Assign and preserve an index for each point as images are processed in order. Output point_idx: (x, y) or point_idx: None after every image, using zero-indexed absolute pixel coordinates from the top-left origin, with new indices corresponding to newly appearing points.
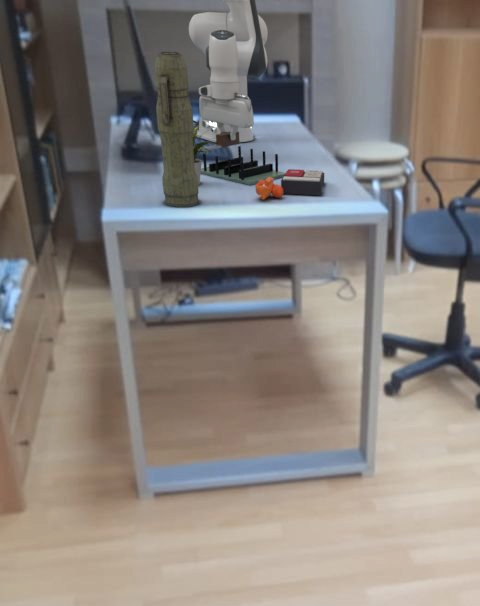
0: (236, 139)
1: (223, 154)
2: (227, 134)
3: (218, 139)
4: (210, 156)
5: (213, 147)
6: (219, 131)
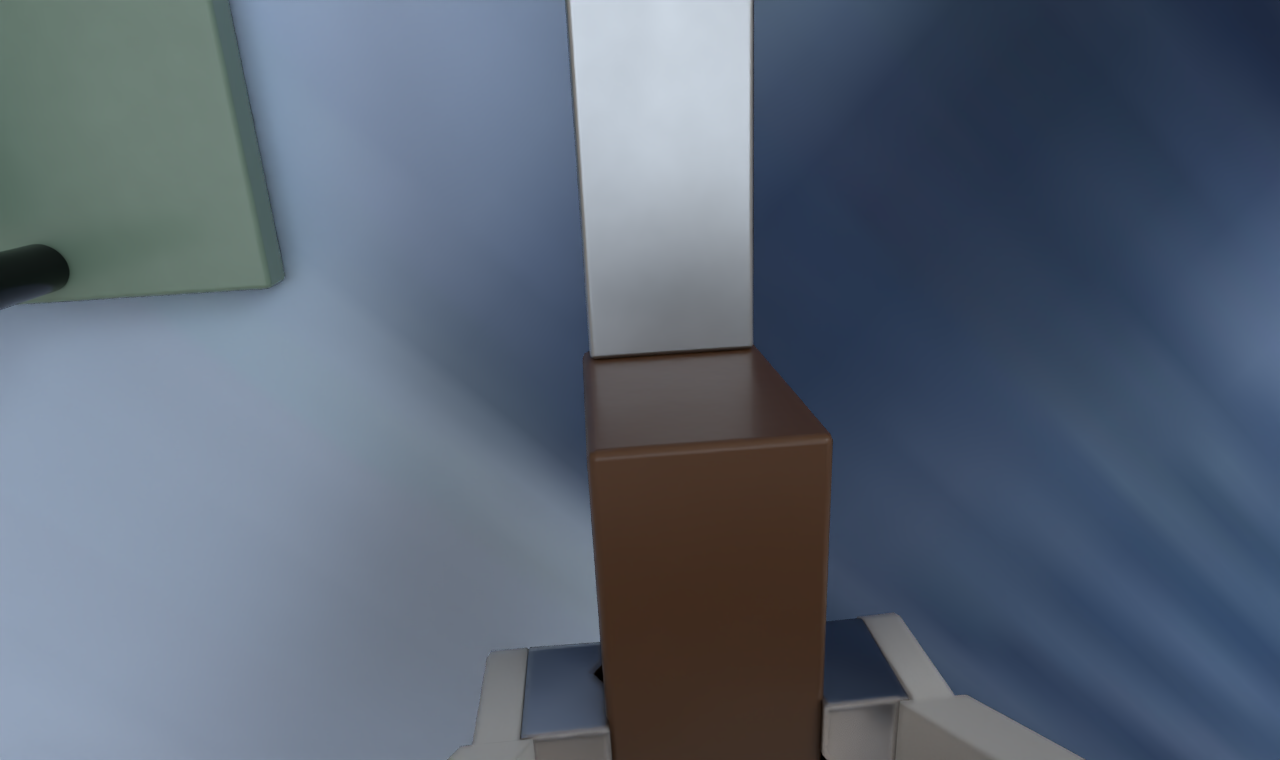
0: None
1: (893, 579)
2: (605, 692)
3: (698, 395)
4: (943, 361)
5: (578, 81)
6: (963, 702)
